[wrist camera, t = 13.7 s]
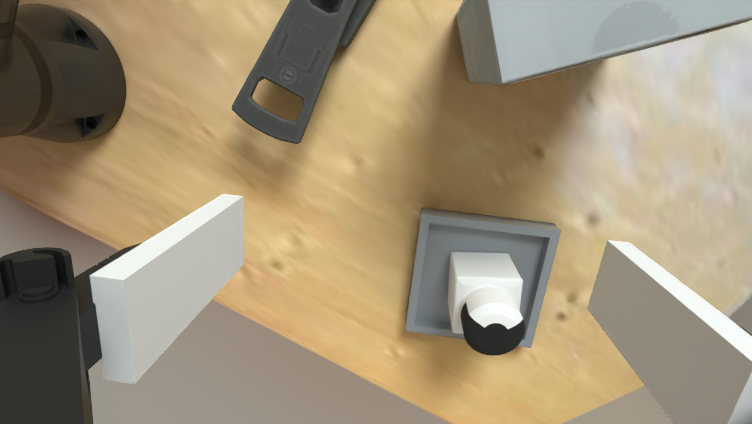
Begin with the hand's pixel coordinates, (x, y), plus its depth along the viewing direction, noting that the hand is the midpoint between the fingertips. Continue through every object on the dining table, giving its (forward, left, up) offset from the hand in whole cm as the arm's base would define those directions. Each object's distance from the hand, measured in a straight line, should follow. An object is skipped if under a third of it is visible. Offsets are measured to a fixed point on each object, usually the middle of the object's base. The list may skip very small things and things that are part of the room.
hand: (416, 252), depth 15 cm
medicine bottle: (+10, -17, -34) cm, 39 cm away
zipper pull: (-11, +11, -35) cm, 38 cm away
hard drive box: (+11, +12, -35) cm, 39 cm away
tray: (+10, -17, -35) cm, 40 cm away
